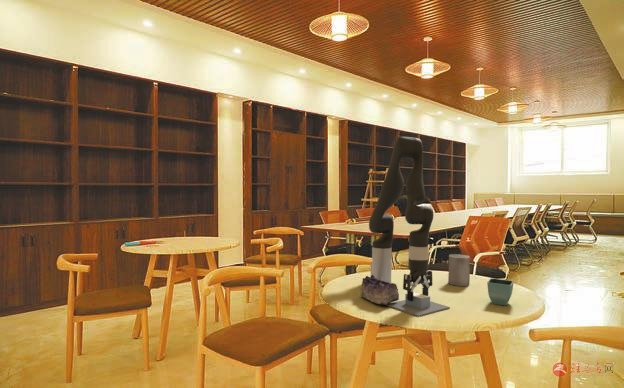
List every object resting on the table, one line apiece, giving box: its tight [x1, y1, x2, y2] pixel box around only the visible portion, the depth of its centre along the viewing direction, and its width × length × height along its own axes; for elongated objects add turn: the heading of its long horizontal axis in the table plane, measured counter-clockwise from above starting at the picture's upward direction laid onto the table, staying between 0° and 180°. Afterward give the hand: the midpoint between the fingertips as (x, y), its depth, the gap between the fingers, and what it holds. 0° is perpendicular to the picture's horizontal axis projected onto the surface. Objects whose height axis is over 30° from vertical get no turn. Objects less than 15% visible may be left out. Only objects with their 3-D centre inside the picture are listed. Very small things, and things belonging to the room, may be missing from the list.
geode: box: [360, 275, 400, 306], centre depth 164 cm, size 20×12×10 cm, turn 27°
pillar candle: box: [447, 252, 471, 287], centre depth 194 cm, size 10×10×15 cm
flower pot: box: [486, 277, 514, 306], centre depth 162 cm, size 9×9×9 cm
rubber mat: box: [385, 299, 450, 317], centre depth 156 cm, size 16×18×1 cm
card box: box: [404, 291, 431, 309], centre depth 156 cm, size 5×8×4 cm, turn 35°
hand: (417, 299), depth 156 cm, fingers open, 8 cm apart
